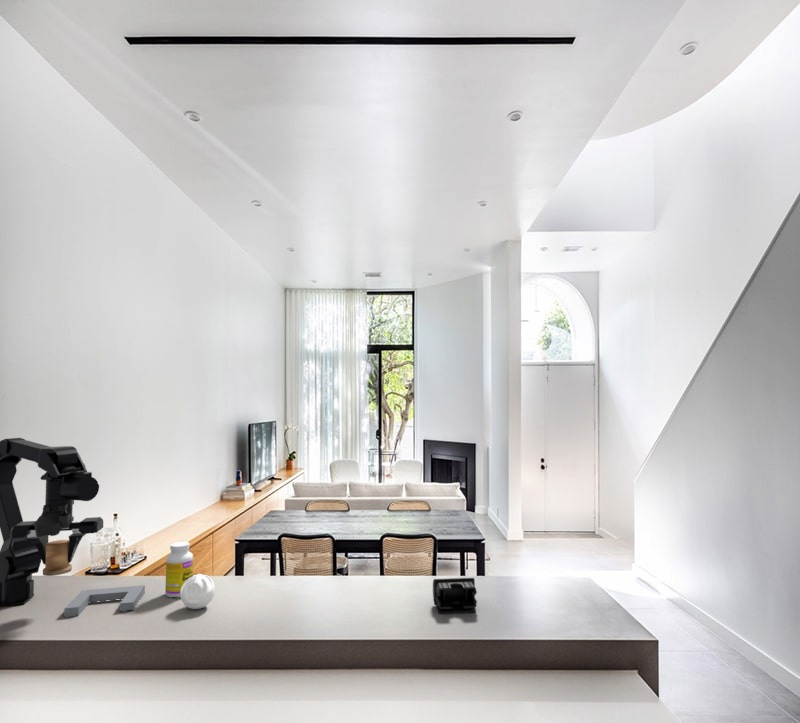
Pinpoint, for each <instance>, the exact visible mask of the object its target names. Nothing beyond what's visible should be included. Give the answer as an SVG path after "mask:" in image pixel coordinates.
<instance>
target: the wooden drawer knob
mask: <svg viewBox="0 0 800 723" xmlns="http://www.w3.org/2000/svg"><path fill="white" fill-rule="evenodd" d="M69 543H70V541H69V539H58V540H57V539H56V540H53V541H48V543H47V544H46V560H45V564H44V565H45V567H44V568H43V569H42V575H43V576H46V577H54V576H61V575H64V574H68V573H70V572H71V571H72V570H73V569H72V568H73V564H71V563H68V552H69Z"/></svg>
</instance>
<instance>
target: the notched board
mask: <svg viewBox="0 0 800 723" xmlns="http://www.w3.org/2000/svg"><path fill="white" fill-rule="evenodd" d="M145 589H146V585H145V584H144V585H143V584H142V585H132V586H131V585H129V586H122V587H121V586H118V587H117V586H116V587H105V588H94V589H85V590H83V589H82V590H81V591H80V592H79V593H78V594H76V596H75V597H74V598H73V599H72V600H71V601H70V602H69V603H68V604H67V605H66V606H65V607H64V610H63V611H64V613H63V614H64V618H68V617H67V616H70V617H78V616H77V615H79V616H80V614H82V612H83V611H84V610H85V609H86V608H85V607H86V606H87V607H88V606H89V604H90V603H89V602H96V603H98V602H97V601H106V600H116V599H123V600H120V603H119V612H120V611H123V612H127V611H126V610H133V611H134V610H135V609H136V607H137V606H138V604H139V603H138V602H140V601H141V600H142V598H143V597H144V595H145V593H146V592H145V591H146V590H145ZM143 594H144V595H143ZM141 597H142V598H141ZM139 600H140V601H139ZM88 603H89V604H88ZM137 603H138V604H137ZM136 605H137V606H136ZM135 606H136V607H135ZM84 608H85V609H84ZM134 608H135V609H134ZM83 609H84V610H83Z"/></svg>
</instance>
